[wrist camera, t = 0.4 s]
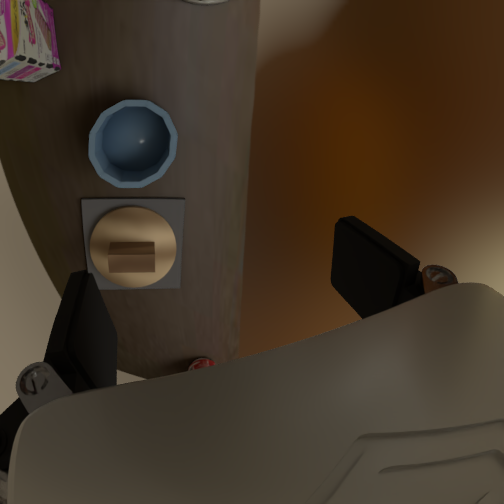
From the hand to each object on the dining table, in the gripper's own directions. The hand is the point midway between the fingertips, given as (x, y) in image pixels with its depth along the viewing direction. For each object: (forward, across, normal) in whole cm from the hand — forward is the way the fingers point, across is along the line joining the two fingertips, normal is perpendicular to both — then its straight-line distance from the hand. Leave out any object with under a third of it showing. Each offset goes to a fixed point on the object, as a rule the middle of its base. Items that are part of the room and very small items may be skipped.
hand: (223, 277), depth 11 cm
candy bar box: (+34, +17, -20) cm, 43 cm away
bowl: (+34, +5, -2) cm, 35 cm away
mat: (+35, +8, +14) cm, 39 cm away
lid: (+34, +8, +14) cm, 38 cm away
